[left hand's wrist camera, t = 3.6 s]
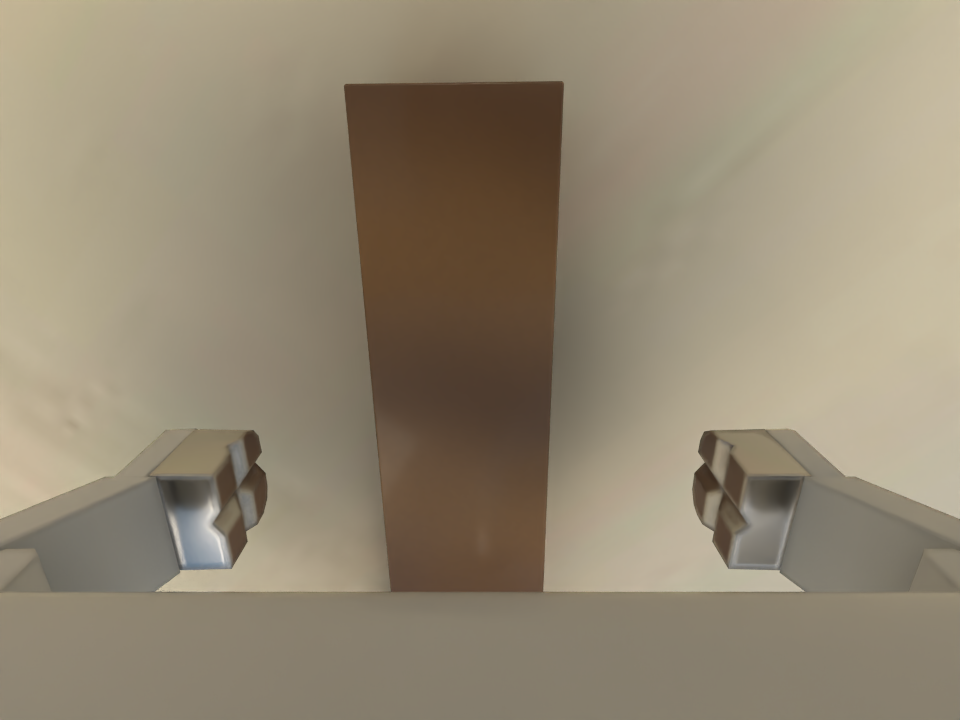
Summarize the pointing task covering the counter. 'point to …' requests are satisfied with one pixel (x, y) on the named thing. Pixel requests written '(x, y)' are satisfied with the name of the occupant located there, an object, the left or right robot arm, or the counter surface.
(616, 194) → the counter surface
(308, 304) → the counter surface
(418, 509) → the beam
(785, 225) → the counter surface
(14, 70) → the counter surface
